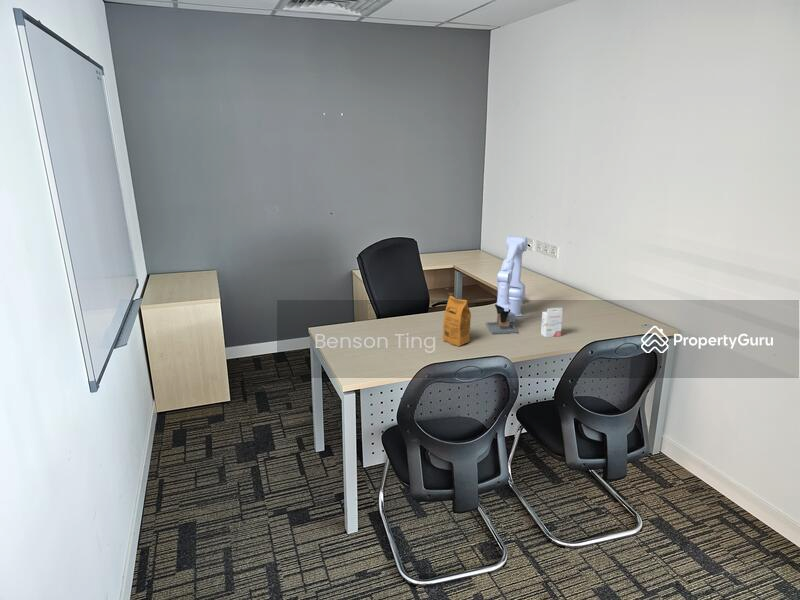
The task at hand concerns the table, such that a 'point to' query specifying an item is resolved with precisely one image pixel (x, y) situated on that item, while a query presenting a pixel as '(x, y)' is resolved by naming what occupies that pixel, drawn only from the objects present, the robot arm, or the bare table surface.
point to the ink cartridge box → (552, 322)
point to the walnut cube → (503, 322)
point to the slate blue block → (512, 317)
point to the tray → (501, 328)
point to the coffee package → (456, 322)
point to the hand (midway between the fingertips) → (501, 320)
